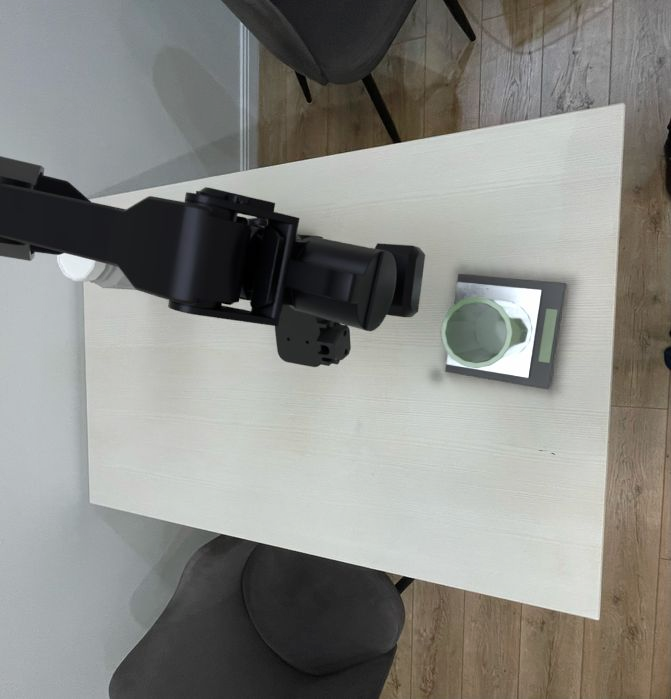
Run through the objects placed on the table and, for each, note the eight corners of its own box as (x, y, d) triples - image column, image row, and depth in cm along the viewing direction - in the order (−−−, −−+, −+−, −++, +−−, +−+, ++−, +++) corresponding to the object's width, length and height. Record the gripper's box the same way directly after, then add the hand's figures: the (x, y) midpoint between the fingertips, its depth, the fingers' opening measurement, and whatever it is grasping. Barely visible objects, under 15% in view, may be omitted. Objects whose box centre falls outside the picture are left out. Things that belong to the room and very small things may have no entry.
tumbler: (537, 352, 60) (518, 360, 49) (478, 363, 63) (448, 373, 52) (524, 294, 61) (503, 289, 49) (467, 308, 64) (434, 306, 52)
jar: (153, 229, 89) (53, 210, 73) (198, 233, 85) (102, 214, 69) (148, 288, 91) (49, 282, 75) (193, 295, 86) (97, 290, 70)
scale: (449, 370, 68) (443, 372, 65) (461, 274, 66) (456, 273, 64) (550, 387, 62) (547, 390, 60) (566, 283, 61) (564, 282, 59)
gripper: (189, 347, 50) (282, 340, 64) (374, 382, 41) (434, 366, 55) (198, 224, 48) (291, 245, 62) (391, 235, 40) (448, 256, 54)
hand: (361, 279), depth 58 cm, fingers open, 9 cm apart
